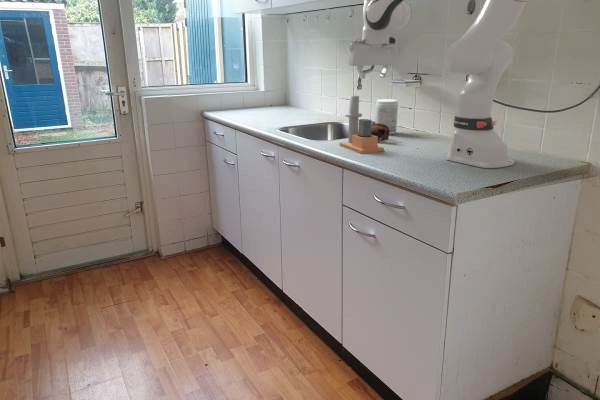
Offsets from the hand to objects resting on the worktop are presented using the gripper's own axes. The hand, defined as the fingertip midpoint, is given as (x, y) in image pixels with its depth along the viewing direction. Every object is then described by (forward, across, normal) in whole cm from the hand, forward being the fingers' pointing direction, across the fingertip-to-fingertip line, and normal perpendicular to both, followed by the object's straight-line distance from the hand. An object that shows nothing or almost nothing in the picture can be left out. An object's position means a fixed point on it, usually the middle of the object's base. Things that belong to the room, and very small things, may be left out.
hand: (372, 77), depth 171 cm
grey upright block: (+25, -7, -6) cm, 26 cm away
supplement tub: (+26, +20, +17) cm, 37 cm away
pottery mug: (+26, +8, +4) cm, 28 cm away
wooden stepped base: (+26, -7, -4) cm, 27 cm away
